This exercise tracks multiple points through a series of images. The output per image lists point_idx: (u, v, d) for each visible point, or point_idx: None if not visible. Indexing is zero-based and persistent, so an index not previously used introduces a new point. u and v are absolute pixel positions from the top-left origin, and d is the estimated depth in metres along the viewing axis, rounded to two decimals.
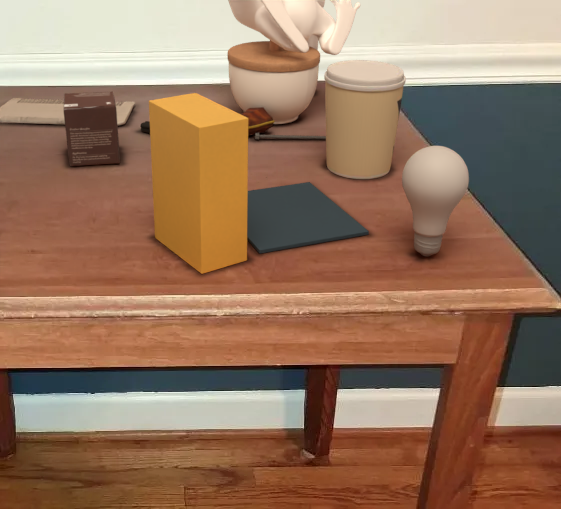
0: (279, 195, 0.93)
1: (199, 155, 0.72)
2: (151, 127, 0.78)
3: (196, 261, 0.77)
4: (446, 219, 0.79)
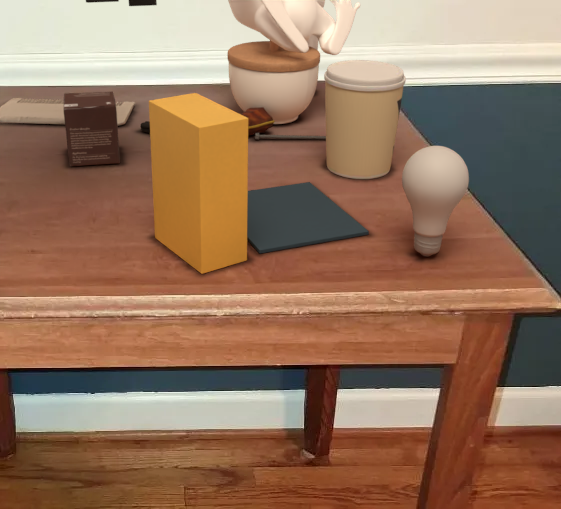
0: (279, 195, 0.93)
1: (199, 155, 0.72)
2: (151, 127, 0.78)
3: (196, 261, 0.77)
4: (446, 219, 0.79)
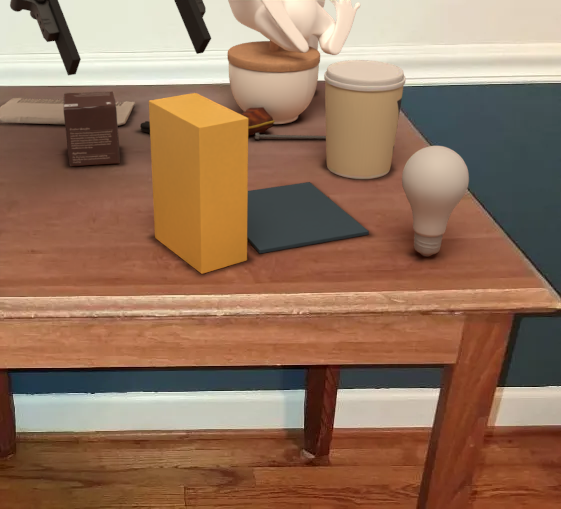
0: (279, 195, 0.93)
1: (199, 155, 0.72)
2: (151, 127, 0.78)
3: (196, 261, 0.77)
4: (446, 219, 0.79)
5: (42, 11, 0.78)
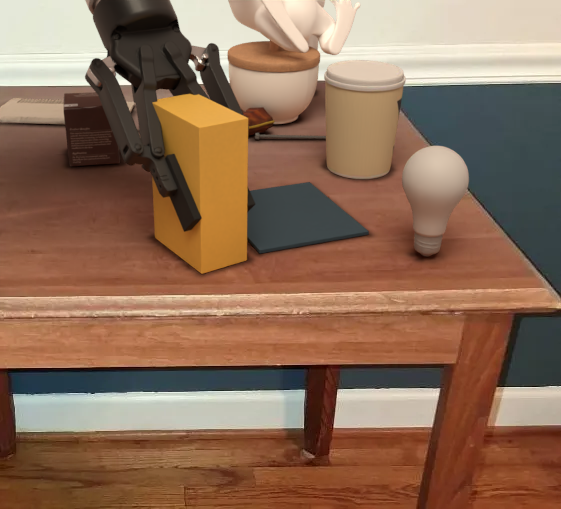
0: (279, 195, 0.93)
1: (199, 155, 0.72)
2: None
3: (196, 261, 0.77)
4: (446, 219, 0.79)
5: (159, 167, 0.75)
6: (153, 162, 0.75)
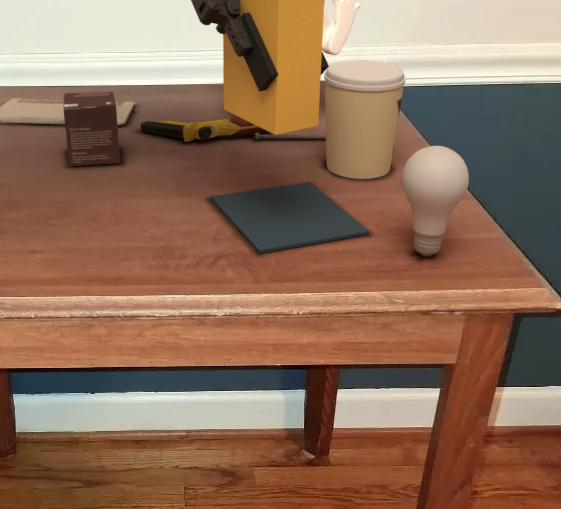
0: (279, 195, 0.93)
1: (278, 7, 0.72)
2: None
3: (270, 122, 0.78)
4: (446, 219, 0.79)
5: (236, 25, 0.76)
6: (229, 20, 0.76)
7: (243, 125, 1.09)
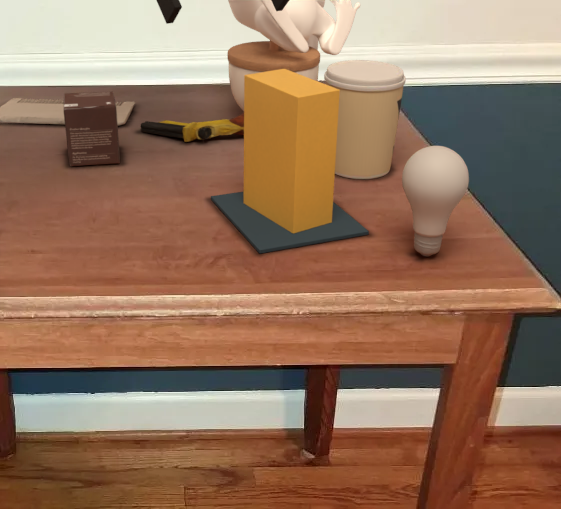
0: None
1: (297, 123, 0.79)
2: (246, 99, 0.85)
3: (288, 222, 0.85)
4: (446, 219, 0.79)
5: None
6: None
7: (243, 125, 1.09)
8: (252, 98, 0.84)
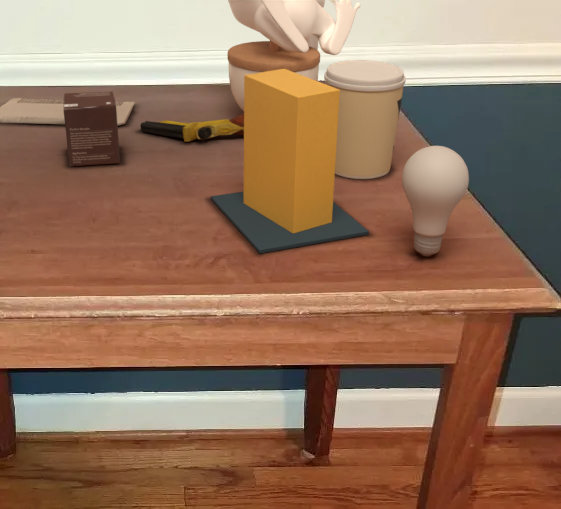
0: None
1: (297, 123, 0.79)
2: (246, 99, 0.85)
3: (288, 222, 0.85)
4: (446, 219, 0.79)
5: None
6: None
7: (243, 125, 1.09)
8: (252, 98, 0.84)
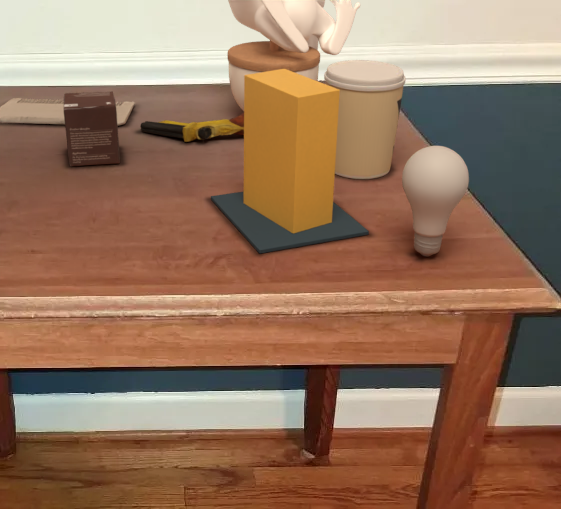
0: None
1: (297, 123, 0.79)
2: (246, 99, 0.85)
3: (288, 222, 0.85)
4: (446, 219, 0.79)
5: None
6: None
7: (243, 125, 1.09)
8: (252, 98, 0.84)
